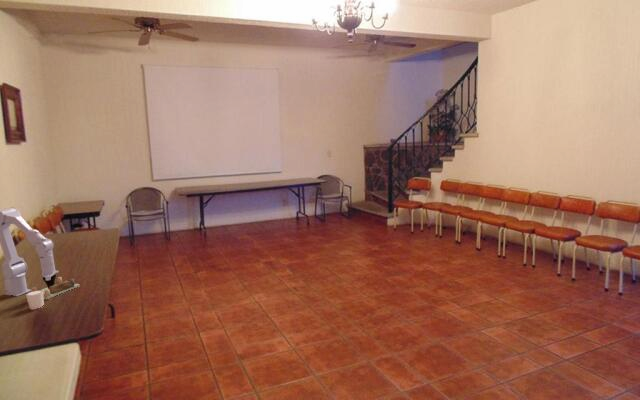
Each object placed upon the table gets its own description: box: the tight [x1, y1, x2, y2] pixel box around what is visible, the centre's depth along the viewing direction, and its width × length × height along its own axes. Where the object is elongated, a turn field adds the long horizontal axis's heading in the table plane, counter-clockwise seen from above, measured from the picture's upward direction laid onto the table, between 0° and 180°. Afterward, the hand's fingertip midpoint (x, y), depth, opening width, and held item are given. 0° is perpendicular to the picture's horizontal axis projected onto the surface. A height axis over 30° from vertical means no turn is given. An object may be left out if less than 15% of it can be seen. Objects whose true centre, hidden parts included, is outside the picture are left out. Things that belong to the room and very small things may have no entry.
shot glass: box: [25, 289, 45, 310], centre depth 207 cm, size 7×7×7 cm
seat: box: [30, 276, 81, 300], centre depth 226 cm, size 14×18×4 cm
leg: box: [49, 278, 76, 293], centre depth 225 cm, size 12×3×3 cm, turn 149°
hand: (51, 289), depth 223 cm, fingers closed
